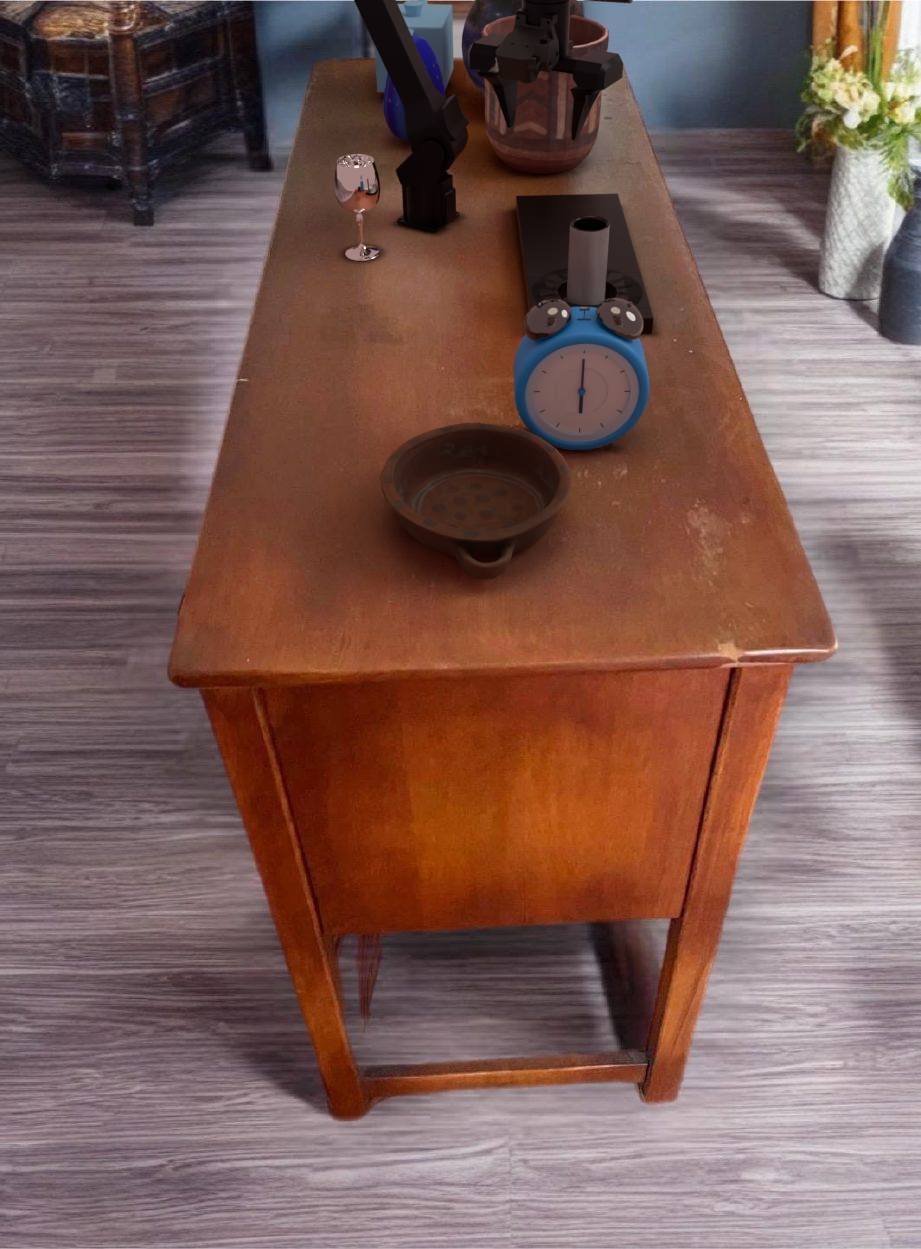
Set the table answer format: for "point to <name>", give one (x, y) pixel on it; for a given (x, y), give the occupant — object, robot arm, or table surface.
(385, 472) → the dish
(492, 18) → the decorative sphere
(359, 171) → the wineglass
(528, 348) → the alarm clock
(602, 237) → the planter
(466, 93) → the table surface
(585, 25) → the pottery
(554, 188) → the table surface
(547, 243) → the plant stand
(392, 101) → the ornament
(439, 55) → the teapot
